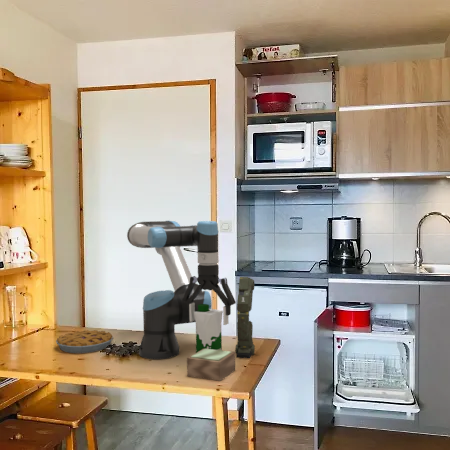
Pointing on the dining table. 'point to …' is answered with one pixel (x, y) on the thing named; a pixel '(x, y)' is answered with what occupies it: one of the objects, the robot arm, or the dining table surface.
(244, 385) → the dining table surface
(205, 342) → the soya milk
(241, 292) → the mechanical leg
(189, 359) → the step block
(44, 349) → the dining table surface
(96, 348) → the pie
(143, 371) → the dining table surface
